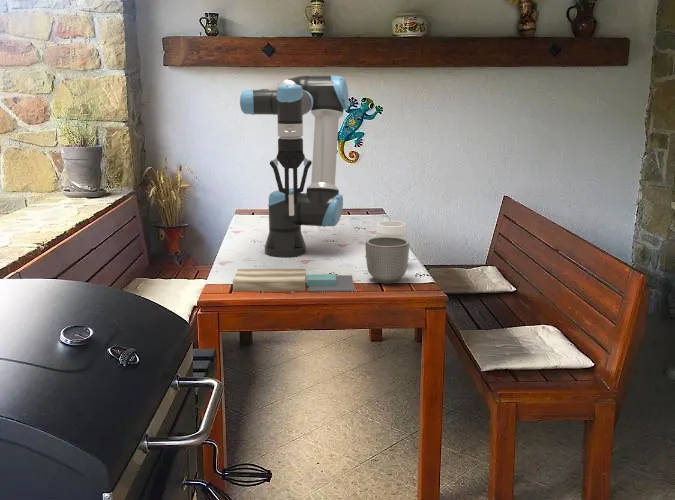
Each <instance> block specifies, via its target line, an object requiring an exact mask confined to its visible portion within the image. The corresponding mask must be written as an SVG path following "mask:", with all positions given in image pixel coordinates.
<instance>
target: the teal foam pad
mask: <svg viewBox="0 0 675 500" xmlns="http://www.w3.org/2000/svg"><path fill="white" fill-rule="evenodd" d="M309 286H336V274H333V273H332V274H330V273H329V274H328V273H327V274H326V273H325V274H323V273H321V274H319V273H317V274H316V273H314V274H310V273H308V274H307V273H306V287H309Z"/></svg>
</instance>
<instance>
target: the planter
mask: <svg viewBox="0 0 675 500" xmlns="http://www.w3.org/2000/svg"><path fill="white" fill-rule="evenodd" d="M409 254H410V241H409V240H408V239H403V238H398V237H376V236H375V237H370V238H368V239H366V240H365V260H366V268H367V272H368V274H369V275H370V276H371V277H372V278H373V279H375V281H376V282H377V283H379V284H385V285H386V284H387V285H388V284H389V285H390V284H396V283H397V282H398V281H399V279H401V278H403V277H404V276H405V274H406V273H407V269H408V264H409V263H408V262H409V257H410V255H409Z"/></svg>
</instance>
